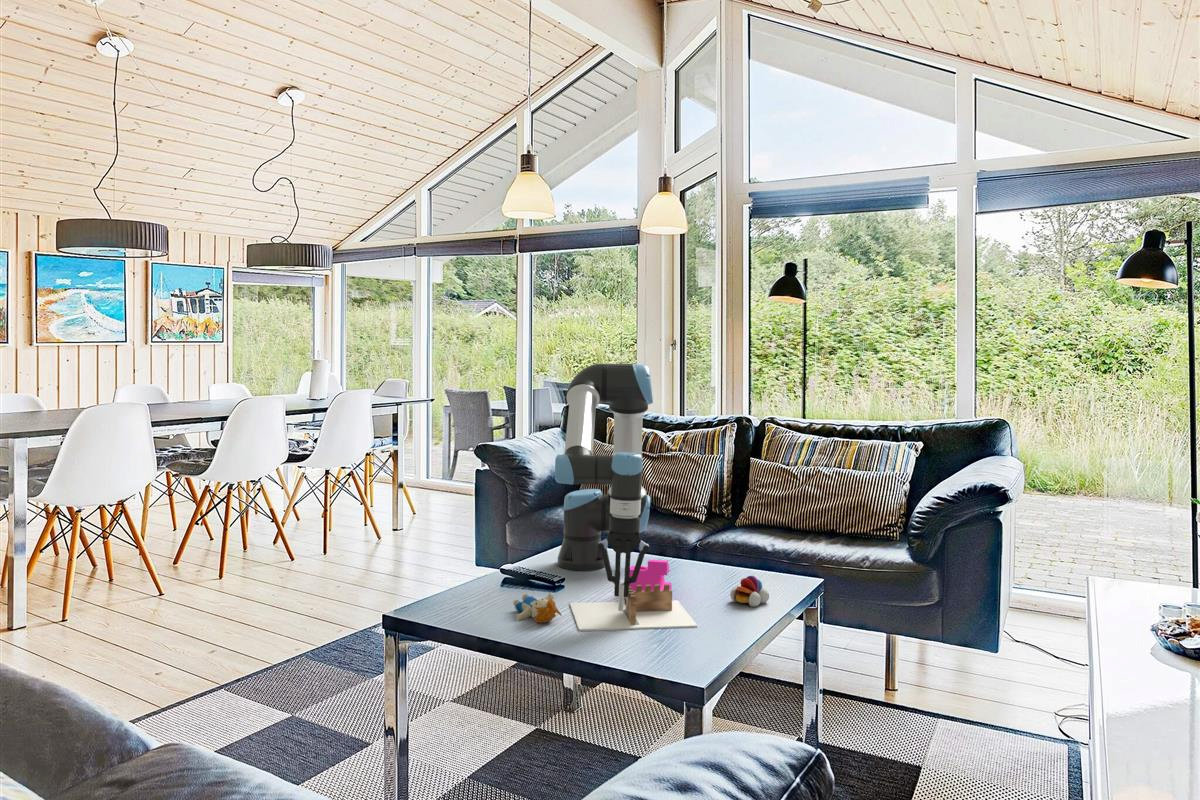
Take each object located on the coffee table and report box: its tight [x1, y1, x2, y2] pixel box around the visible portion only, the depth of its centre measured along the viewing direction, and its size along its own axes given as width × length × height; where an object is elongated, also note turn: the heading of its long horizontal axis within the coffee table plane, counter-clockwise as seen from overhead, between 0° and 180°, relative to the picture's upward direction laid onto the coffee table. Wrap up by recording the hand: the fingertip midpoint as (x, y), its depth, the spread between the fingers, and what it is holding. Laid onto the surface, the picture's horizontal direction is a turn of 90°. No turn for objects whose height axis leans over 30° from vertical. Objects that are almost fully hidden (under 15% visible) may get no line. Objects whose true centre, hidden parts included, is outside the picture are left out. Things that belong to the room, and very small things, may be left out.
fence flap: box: [624, 587, 636, 624], centre depth 213 cm, size 10×2×7 cm, turn 5°
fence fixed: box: [633, 584, 673, 611], centre depth 220 cm, size 10×1×7 cm, turn 98°
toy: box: [512, 592, 563, 623], centre depth 214 cm, size 12×6×15 cm
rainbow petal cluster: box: [729, 575, 770, 608], centre depth 229 cm, size 8×10×7 cm
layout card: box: [569, 599, 698, 632], centre depth 217 cm, size 21×29×1 cm
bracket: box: [629, 559, 673, 591], centre depth 235 cm, size 12×10×10 cm
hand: (620, 609), depth 212 cm, fingers closed
